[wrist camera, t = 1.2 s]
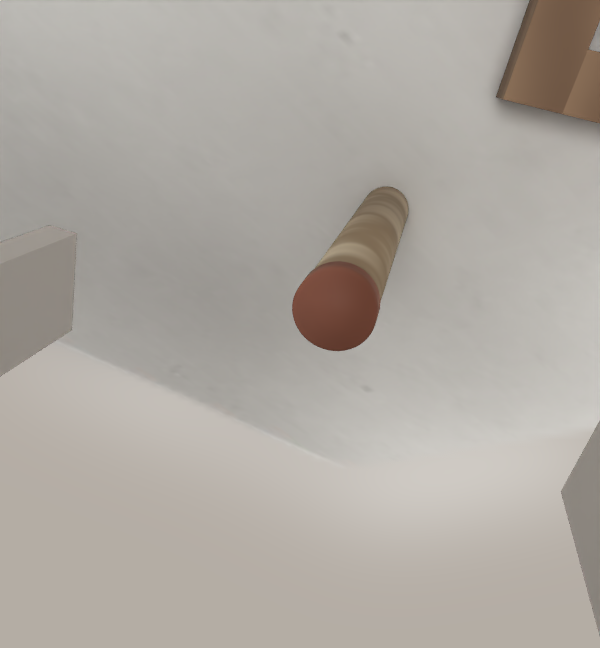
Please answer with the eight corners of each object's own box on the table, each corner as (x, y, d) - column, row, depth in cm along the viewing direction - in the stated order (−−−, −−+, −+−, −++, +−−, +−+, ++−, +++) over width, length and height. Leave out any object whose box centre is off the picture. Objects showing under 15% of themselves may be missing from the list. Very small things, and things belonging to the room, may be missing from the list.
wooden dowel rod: (356, 225, 31) (284, 336, 17) (368, 180, 30) (302, 260, 16) (401, 238, 30) (363, 361, 17) (415, 192, 29) (387, 285, 16)
